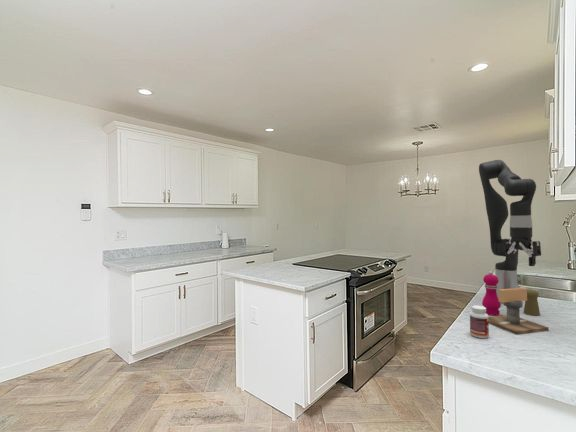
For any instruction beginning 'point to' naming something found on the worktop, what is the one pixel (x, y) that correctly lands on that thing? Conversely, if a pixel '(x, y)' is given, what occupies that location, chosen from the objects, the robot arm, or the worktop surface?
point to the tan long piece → (513, 296)
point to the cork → (532, 303)
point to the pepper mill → (491, 295)
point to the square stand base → (515, 323)
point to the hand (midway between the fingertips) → (521, 264)
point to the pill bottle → (479, 322)
